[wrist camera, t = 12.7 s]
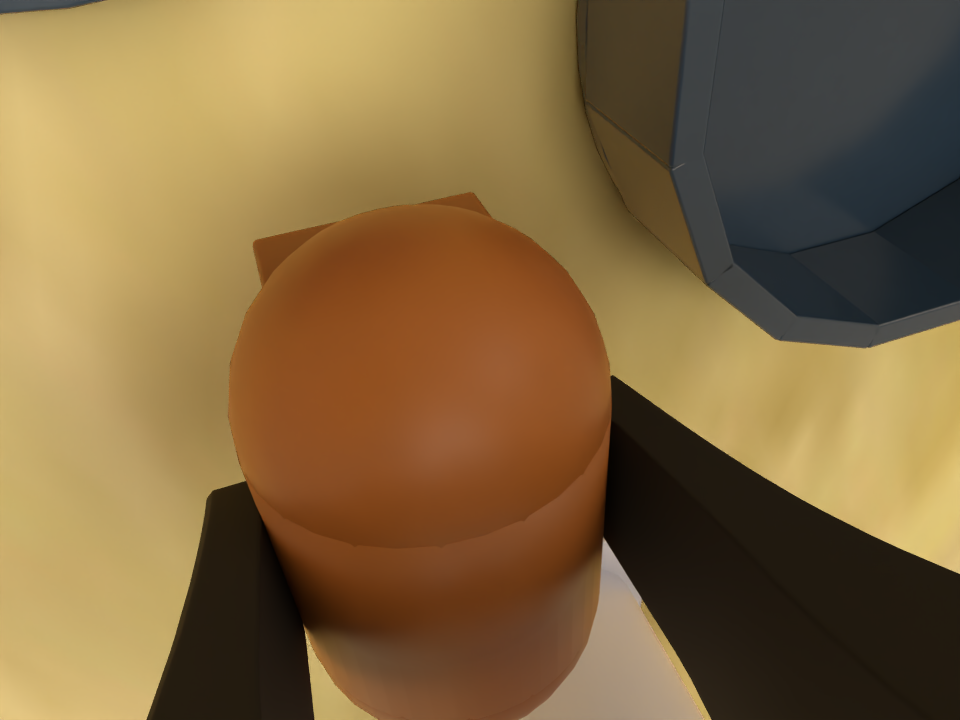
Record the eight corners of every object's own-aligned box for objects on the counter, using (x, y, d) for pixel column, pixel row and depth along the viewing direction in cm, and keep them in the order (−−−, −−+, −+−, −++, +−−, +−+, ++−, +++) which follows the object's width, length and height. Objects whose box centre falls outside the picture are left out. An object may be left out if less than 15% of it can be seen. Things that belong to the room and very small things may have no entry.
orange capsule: (534, 513, 16) (643, 727, 13) (311, 585, 15) (362, 840, 12) (522, 111, 11) (714, 294, 7) (166, 183, 10) (180, 441, 6)
